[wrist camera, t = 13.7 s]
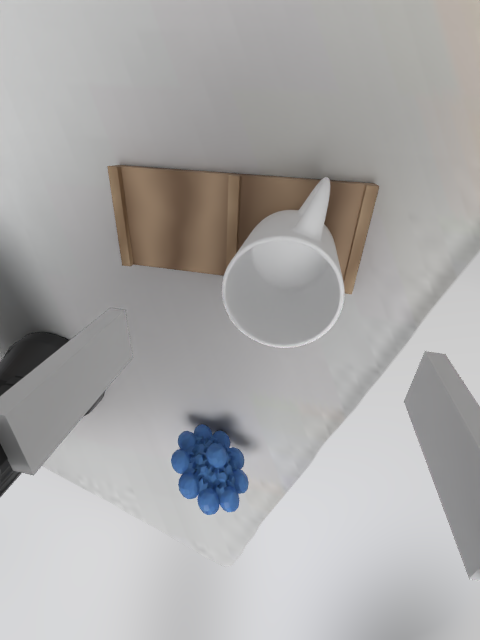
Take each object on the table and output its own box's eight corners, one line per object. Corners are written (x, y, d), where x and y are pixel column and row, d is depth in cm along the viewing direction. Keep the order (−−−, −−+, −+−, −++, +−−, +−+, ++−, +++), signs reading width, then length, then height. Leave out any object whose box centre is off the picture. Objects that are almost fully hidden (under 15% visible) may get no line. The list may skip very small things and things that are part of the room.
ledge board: (132, 259, 36) (122, 265, 35) (119, 165, 31) (107, 166, 30) (349, 285, 33) (351, 294, 31) (374, 183, 28) (379, 186, 26)
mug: (372, 191, 27) (402, 214, 18) (310, 304, 33) (310, 364, 24) (280, 153, 27) (263, 157, 18) (236, 273, 33) (207, 322, 24)
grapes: (266, 431, 46) (253, 513, 36) (249, 455, 50) (232, 536, 39) (196, 399, 46) (162, 472, 36) (183, 426, 49) (149, 499, 39)
